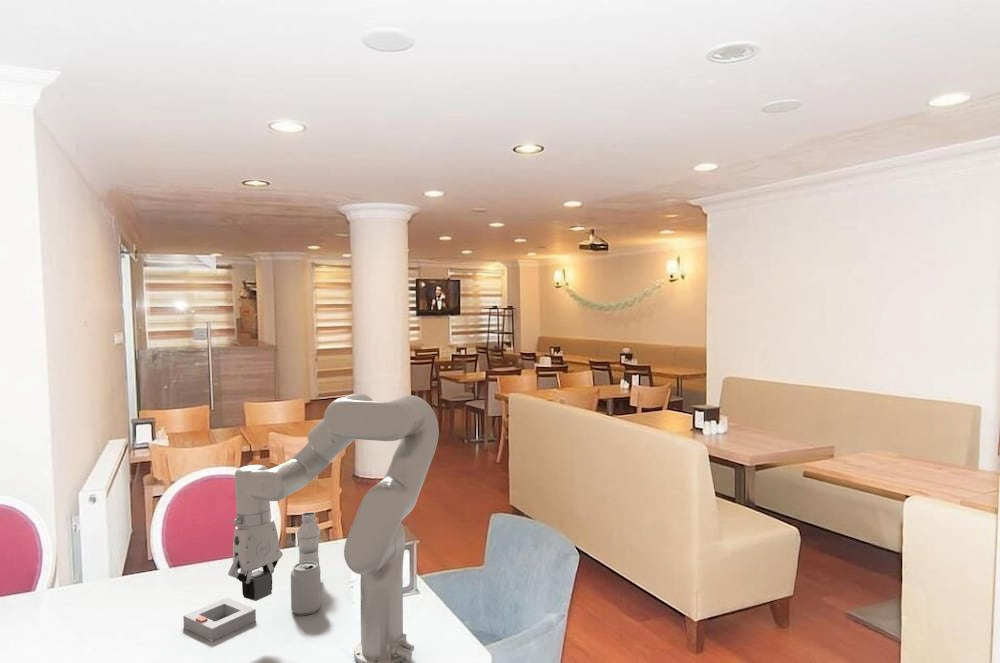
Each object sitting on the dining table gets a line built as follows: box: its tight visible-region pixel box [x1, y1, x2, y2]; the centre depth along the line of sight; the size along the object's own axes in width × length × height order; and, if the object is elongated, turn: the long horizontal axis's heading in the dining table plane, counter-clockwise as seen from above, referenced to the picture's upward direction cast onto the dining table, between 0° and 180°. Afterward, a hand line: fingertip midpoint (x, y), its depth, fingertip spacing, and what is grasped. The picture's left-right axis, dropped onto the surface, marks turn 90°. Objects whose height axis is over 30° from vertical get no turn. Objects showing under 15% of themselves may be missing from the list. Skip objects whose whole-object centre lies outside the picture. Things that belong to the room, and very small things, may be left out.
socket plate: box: [183, 597, 257, 642], centre depth 161 cm, size 12×12×4 cm
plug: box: [251, 569, 273, 602], centre depth 152 cm, size 4×4×5 cm
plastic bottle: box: [296, 511, 322, 574], centre depth 185 cm, size 6×7×20 cm
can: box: [290, 561, 322, 616], centre depth 168 cm, size 8×8×12 cm
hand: (257, 593), depth 152 cm, fingers closed on plug, 4 cm apart
